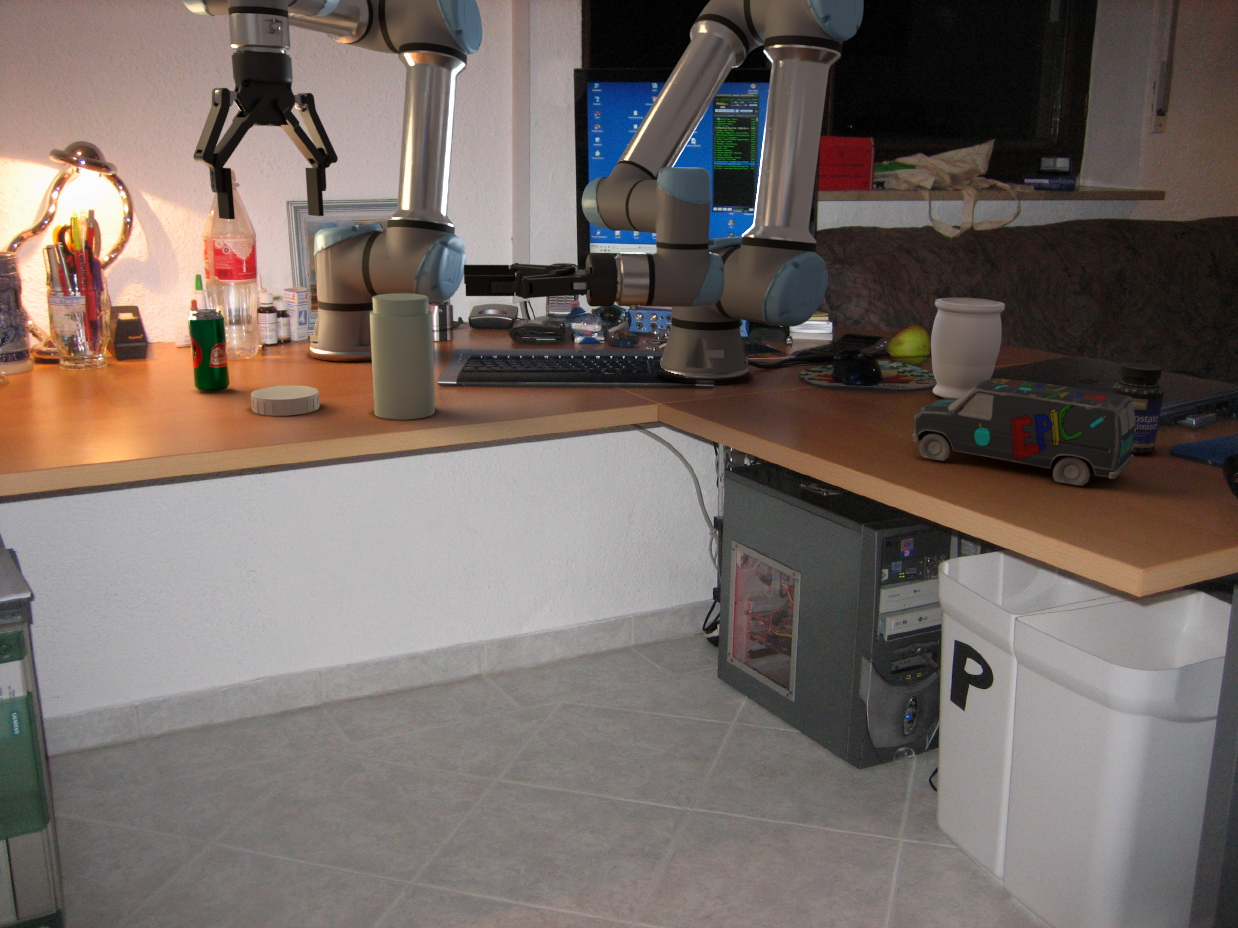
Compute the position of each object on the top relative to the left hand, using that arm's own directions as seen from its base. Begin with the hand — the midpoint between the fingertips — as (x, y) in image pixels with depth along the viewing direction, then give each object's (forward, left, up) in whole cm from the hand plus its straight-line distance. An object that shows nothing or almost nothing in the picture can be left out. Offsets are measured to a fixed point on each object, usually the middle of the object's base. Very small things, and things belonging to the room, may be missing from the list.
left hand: (273, 217), depth 147 cm
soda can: (-7, -17, -27) cm, 32 cm away
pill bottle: (-14, +115, -27) cm, 119 cm away
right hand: (-7, +25, -8) cm, 27 cm away
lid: (0, 0, -25) cm, 25 cm away
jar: (-41, +95, -27) cm, 107 cm away
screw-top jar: (-3, +17, -27) cm, 32 cm away
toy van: (-2, +100, -27) cm, 104 cm away
